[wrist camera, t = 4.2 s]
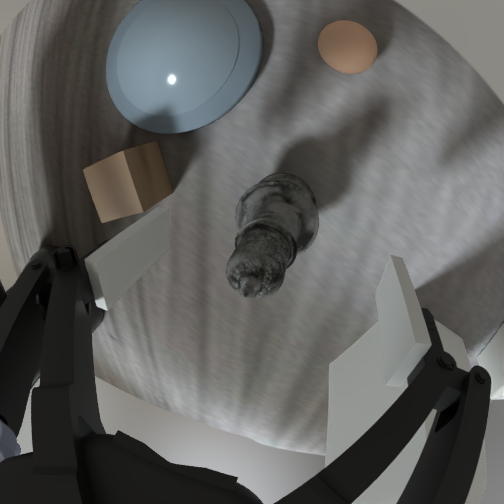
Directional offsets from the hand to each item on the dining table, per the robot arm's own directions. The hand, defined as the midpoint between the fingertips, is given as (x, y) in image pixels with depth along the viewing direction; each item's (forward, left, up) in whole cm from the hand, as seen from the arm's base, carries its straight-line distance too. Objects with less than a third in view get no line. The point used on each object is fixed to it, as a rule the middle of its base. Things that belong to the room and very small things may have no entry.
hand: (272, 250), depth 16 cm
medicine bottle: (+32, -10, -8) cm, 34 cm away
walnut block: (-13, +1, -8) cm, 16 cm away
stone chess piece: (0, 0, -8) cm, 8 cm away
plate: (-10, +12, -8) cm, 18 cm away
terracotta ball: (+3, +13, -6) cm, 14 cm away
